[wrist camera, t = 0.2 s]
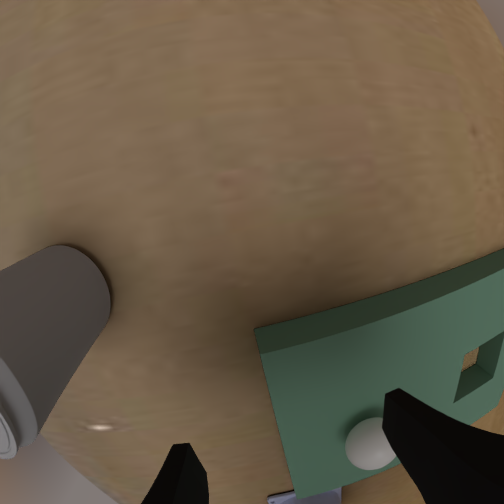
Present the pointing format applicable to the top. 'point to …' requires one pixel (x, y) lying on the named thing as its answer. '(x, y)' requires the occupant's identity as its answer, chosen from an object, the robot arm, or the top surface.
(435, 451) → the robot arm
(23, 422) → the beverage can
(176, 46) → the top surface
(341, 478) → the putting board
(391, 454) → the ball
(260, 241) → the top surface
